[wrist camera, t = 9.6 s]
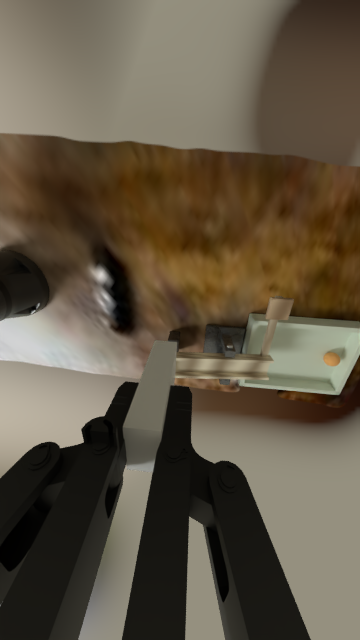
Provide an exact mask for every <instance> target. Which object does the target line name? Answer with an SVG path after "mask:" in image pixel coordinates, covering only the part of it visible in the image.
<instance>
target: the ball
mask: <svg viewBox="0 0 360 640" xmlns="http://www.w3.org/2000/svg"><path fill="white" fill-rule="evenodd" d="M323 360H324V362H325V363H326V364H327V365H329V366H337V365H338V364H339V363H340V357H339V356H338V355H337V354H336V353H333V352H329V353H326V354H325V355H324V357H323Z"/></svg>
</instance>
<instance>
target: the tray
mask: <svg viewBox="0 0 360 640" xmlns="http://www.w3.org/2000/svg"><path fill="white" fill-rule="evenodd" d="M265 316H266V314H254V313H250V314H249V319H248V324H247V329H246V333H245V338H244V343H243V347H242V352H241V354H260V352H261V348H262V345H263V341H264V337H265V333H266V329H267V325H268V322H269V319H266V318H265ZM329 352H333V353H336V354H337V355H338V356H339V357H340V363H339V364H338V365H337V366H329V365H327V364H326V363H325V362H324V360H323V357H324V355H325V354H326V353H329ZM268 355H270V356H271V357H272V359H273V360H274V363H270V365H269V368H268V372H267V375H268V377H269V380H242V379H238V382H239V386H248V387H259V388H269V389H280V390H291V391H301V392H312V393H323V394H333V395H339V394H340V392H341V390H342V388H343V386H344V384H345V382H346V380H347V378H348V376H349V374H350V373H351V371H352V369H353V367H354V365H355V363H356V361H357V359H358V357H359V355H360V322H359V321H347V320H334V319H320V318H307V317H294V316H289V318H288V320H278V322H277V325H276V329H275V332H274V336H273V339H272V343H271V346H270V350H269V354H268Z"/></svg>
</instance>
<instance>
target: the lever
mask: <svg viewBox="0 0 360 640" xmlns="http://www.w3.org/2000/svg"><path fill="white" fill-rule="evenodd" d="M293 301H294V299H292V298H283V297H282V296H275V298H273V297H270V299H269V303H268V307H267V311H266V316H265V318H266V319H269V322H268V325H267V329H266V333H265V337H264V341H263V345H262V348H261V352H260V354H235V358H234V357H225V356H224V353H197V352H176V372H175V378H202V379H242V380H269V377H268V375H267V372H268V368H269V365H270V363H274V360H273V359H272V357H271V356H270V355H268V354H269V350H270V346H271V343H272V339H273V336H274V332H275V329H276V325H277V322H278V320H288V318H289V315H290V311H291V308H292V305H293Z"/></svg>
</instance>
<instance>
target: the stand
mask: <svg viewBox="0 0 360 640" xmlns="http://www.w3.org/2000/svg"><path fill="white" fill-rule="evenodd" d="M244 333H245V328H242V327H229V326H217V325H207V326H206V334H205V343H204V351H203V353H224V356H225V357H234V358H235V354H240V352H241V347H242V342H243V338H244ZM179 340H180V332H173V331H170V334H169V338H168V341H169V342H177V352H179ZM219 381H220V384H223V385H229V384H230V379H219Z"/></svg>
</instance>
